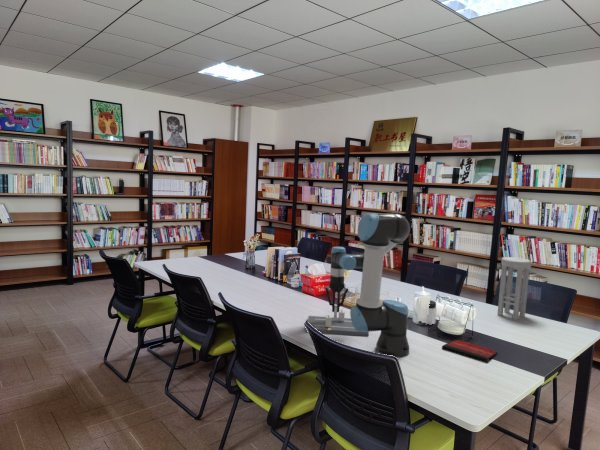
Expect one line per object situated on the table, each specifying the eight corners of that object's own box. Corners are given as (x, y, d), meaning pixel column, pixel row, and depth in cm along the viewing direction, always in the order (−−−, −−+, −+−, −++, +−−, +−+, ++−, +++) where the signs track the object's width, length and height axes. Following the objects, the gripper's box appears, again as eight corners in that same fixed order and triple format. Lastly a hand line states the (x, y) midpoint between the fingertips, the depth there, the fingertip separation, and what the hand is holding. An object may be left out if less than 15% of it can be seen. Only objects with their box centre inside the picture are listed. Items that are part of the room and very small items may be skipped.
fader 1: (331, 326, 217) (331, 317, 216) (325, 326, 217) (325, 317, 217) (331, 324, 221) (331, 315, 220) (325, 323, 221) (326, 314, 221)
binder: (487, 358, 186) (441, 345, 200) (487, 364, 186) (441, 350, 200) (499, 350, 198) (455, 338, 212) (498, 355, 198) (454, 342, 212)
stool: (518, 321, 245) (524, 262, 241) (492, 314, 257) (497, 258, 253) (529, 316, 255) (535, 260, 251) (504, 310, 266) (509, 256, 263)
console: (368, 336, 212) (368, 332, 212) (305, 332, 215) (305, 328, 215) (365, 322, 233) (366, 319, 233) (308, 318, 236) (308, 315, 236)
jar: (416, 320, 240) (417, 299, 239) (428, 319, 243) (430, 299, 242) (425, 325, 232) (426, 304, 231) (437, 324, 234) (439, 303, 233)
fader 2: (344, 321, 226) (344, 312, 226) (338, 321, 227) (339, 312, 226) (344, 319, 230) (344, 310, 230) (338, 318, 231) (339, 310, 230)
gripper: (349, 274, 229) (347, 316, 232) (325, 273, 230) (323, 314, 233) (349, 277, 222) (347, 320, 224) (325, 276, 223) (323, 319, 225)
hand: (335, 317), depth 228 cm, fingers closed
